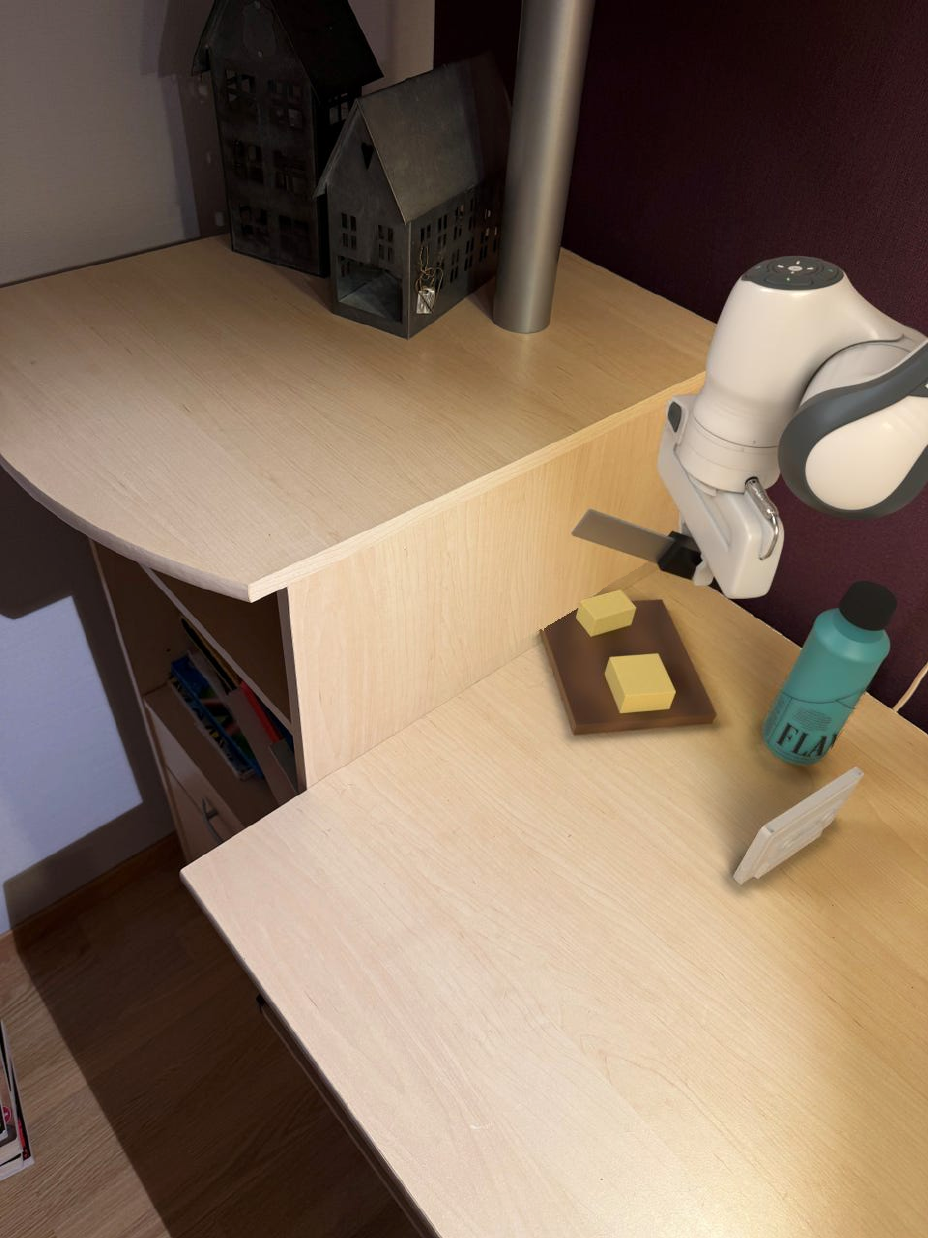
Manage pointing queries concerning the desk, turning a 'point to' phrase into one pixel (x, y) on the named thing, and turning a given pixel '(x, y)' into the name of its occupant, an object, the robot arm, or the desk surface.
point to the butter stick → (639, 683)
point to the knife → (642, 543)
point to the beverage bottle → (830, 675)
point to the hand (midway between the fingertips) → (692, 567)
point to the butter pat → (605, 612)
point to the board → (650, 633)
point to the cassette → (796, 827)
